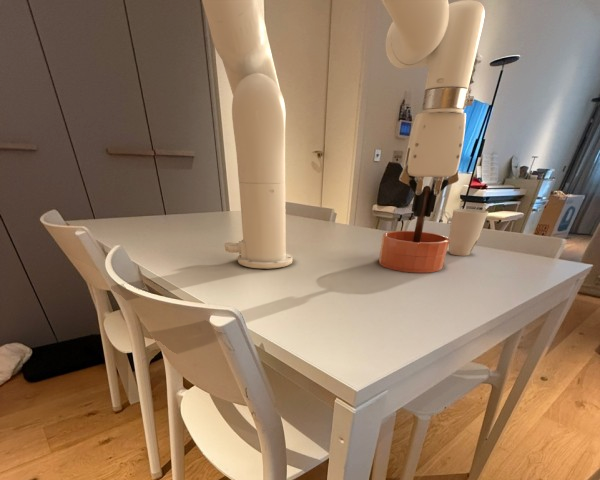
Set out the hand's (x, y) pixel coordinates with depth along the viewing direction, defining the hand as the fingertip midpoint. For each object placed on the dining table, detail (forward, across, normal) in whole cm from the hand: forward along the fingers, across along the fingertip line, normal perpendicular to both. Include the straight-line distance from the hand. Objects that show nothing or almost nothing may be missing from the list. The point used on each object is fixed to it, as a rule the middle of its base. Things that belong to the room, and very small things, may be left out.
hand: (421, 215), depth 73 cm
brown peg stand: (+7, 0, 0) cm, 7 cm away
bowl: (+10, 0, 0) cm, 10 cm away
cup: (+11, -16, -13) cm, 23 cm away
